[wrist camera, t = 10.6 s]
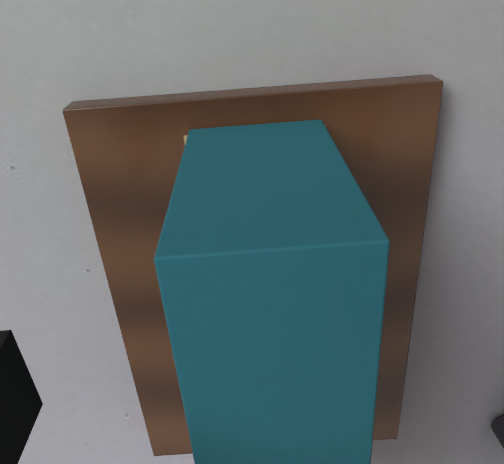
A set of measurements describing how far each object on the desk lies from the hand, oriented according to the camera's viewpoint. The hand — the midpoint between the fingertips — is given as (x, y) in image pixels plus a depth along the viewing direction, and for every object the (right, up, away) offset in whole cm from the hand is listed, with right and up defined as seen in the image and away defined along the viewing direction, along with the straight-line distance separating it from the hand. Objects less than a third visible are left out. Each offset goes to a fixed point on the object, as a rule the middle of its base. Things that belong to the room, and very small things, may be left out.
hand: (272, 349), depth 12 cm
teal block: (0, +4, +7) cm, 8 cm away
